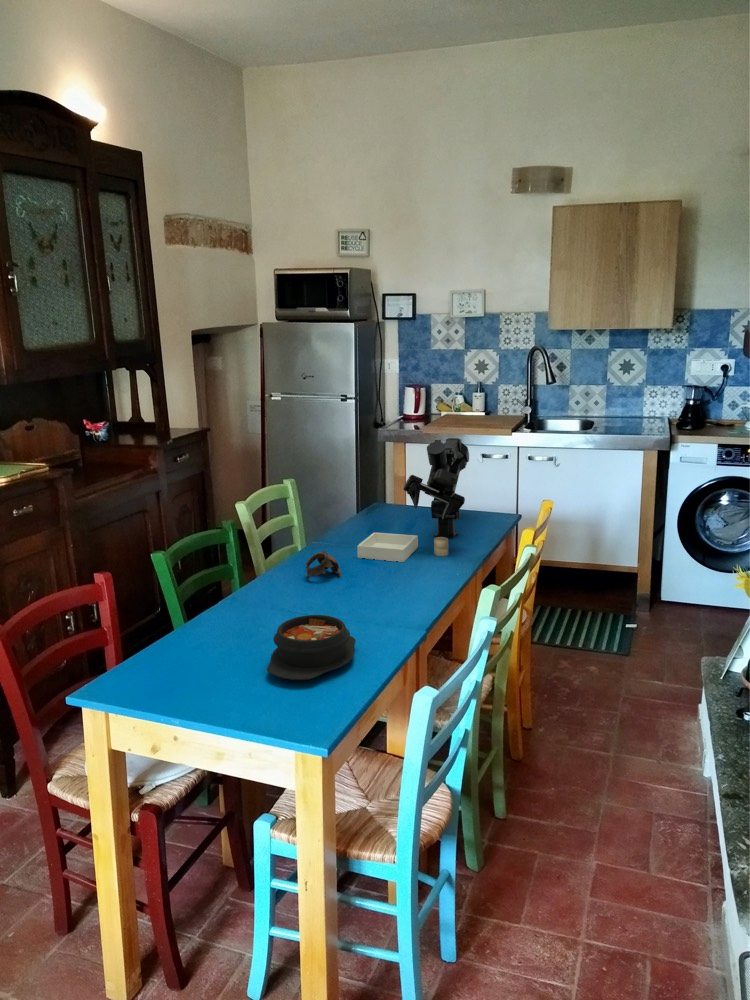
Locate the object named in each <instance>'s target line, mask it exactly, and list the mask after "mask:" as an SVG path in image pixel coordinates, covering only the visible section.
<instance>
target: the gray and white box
mask: <svg viewBox="0 0 750 1000" xmlns="http://www.w3.org/2000/svg"><path fill="white" fill-rule="evenodd" d="M418 537H419V536H418V535H414V534H399V533H389V532H388V533H387V532H375V531H374V532H373V533H372V534H370V535H369V536H368V537H366V538H365V539H364V540H363V541H361V542H360V543H359V544H358V545H357V546H356V547H357V559H362V558H365V559H364V560H373V559H375V560H374V561H384V560H386V561H385V562H396V561H398V563H405V562H406V560H407V559H408V558H409V557H410V556H411V555H413V554H414V552H415V551H417V550H418V548H419V538H418Z"/></svg>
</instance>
